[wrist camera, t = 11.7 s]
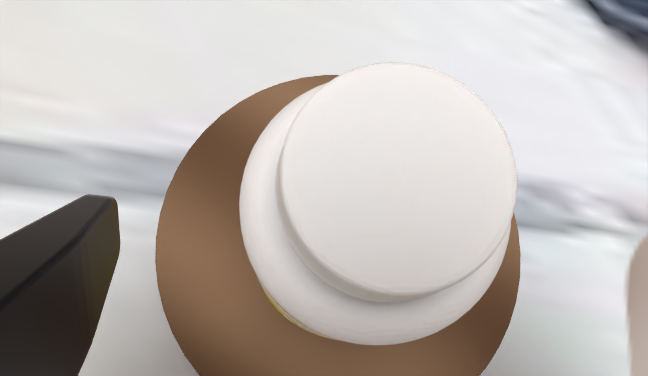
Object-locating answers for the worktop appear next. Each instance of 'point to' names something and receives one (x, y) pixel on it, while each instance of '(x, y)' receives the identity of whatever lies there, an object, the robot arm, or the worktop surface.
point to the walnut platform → (247, 294)
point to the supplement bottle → (379, 204)
